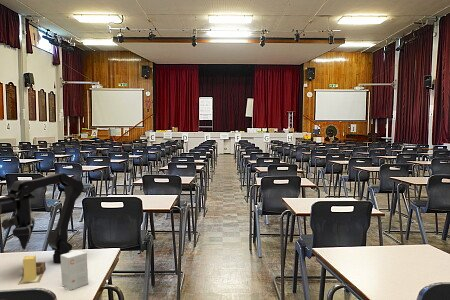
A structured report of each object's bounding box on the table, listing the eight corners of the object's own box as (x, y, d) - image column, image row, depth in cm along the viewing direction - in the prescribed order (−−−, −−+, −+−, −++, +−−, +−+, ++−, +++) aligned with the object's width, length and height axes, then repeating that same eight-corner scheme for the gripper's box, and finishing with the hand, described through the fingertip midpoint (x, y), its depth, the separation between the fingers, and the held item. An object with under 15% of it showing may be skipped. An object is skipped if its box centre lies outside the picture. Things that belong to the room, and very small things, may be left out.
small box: (80, 280, 169) (78, 249, 168) (88, 284, 165) (87, 252, 164) (61, 286, 163) (59, 254, 162) (69, 290, 159) (68, 257, 158)
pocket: (45, 268, 182) (45, 261, 181) (42, 274, 174) (42, 267, 174) (26, 270, 179) (26, 263, 179) (22, 276, 172) (22, 269, 172)
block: (36, 276, 171) (35, 255, 170) (34, 280, 167) (33, 258, 166) (26, 277, 169) (24, 256, 169) (24, 281, 166) (22, 259, 165)
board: (46, 270, 182) (45, 267, 182) (39, 284, 165) (39, 281, 165) (26, 272, 180) (26, 269, 180) (17, 287, 163) (17, 283, 163)
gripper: (6, 207, 181) (8, 242, 183) (-3, 216, 164) (0, 254, 165) (33, 205, 185) (36, 239, 186) (28, 213, 167) (30, 251, 168)
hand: (25, 245), depth 176 cm, fingers open, 9 cm apart
